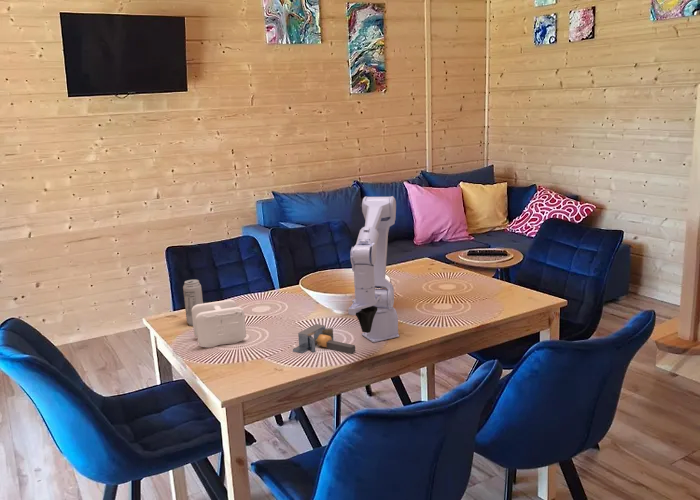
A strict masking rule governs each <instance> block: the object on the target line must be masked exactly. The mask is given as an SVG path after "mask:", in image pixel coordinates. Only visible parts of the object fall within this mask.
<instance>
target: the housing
mask: <svg viewBox="0 0 700 500" xmlns="http://www.w3.org/2000/svg"><path fill="white" fill-rule="evenodd" d="M297 334H298V346H296V347H294V348H292V352H294V353H300V354H303V353H305V352H307V351H310V352H311V353H316V339H317V338H318V336H319V335H320V334H323V335H328V336H331V338H332V341H335V339H334V328H333V327H332V328H331V327H329V328H328V327H326V325H324V324H320V323H314V324H313V325H311V326H309V327H307V328H305V329H304V330H301V331H299V332H298V333H297Z"/></svg>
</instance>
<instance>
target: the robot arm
mask: <svg viewBox="0 0 700 500" xmlns="http://www.w3.org/2000/svg"><path fill="white" fill-rule="evenodd" d="M361 212H362V214H363V215H362V216H363V217H364V220H365V223H364V226H362V227H361V229H359V233H358V236H357V239H356V243H355V245H354V246H351V249H350V263H351V269H352V272H353V279H354V280H353V281H354V282H353V283H354V284H353V285H354V299H352V300H351V302H352V304H351V306H349V307H347V309H348V310H347V311H348V314H347V315H349V316H356V318H357V320H358V322H359V325H360V329H361V332H362V333H361V335H362V337H364V338H366V339H367V340H369V341H370V342H372V343H377V342H382V341H387V340H390V339H394V338H395V339H396V338H399V337H400V335H399V317H398V313H397V310H396V308H395V307H394V303H395V294H394V291H395V289H394V288H395V287H394V285H393V283H391V281H389V280H388V279H387V278H386V276H387V275H386V273H387V271H386V270H387V257H388V241H389V238H388V236H389V232H390V231H389V230H390V227H392V226H393V225H395V221H396V218H397V217H396V215H397V214H396V213H397V201H396V198H395V197H394V195H392V196H364V197H363V198H362V203H361Z"/></svg>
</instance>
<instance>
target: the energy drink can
mask: <svg viewBox="0 0 700 500" xmlns="http://www.w3.org/2000/svg"><path fill="white" fill-rule="evenodd" d="M182 289H183V291H182V292H183V298H184V299H183V301H184V308H185V309H184V310H185V317H186V318H185V319H186V323H187V324H188V325H189V326H192V327H193V320H192V308H193V306H195V305H197V304H203V303H204V301H203V290H202V285H201V283H200V280H199V279H188V280H185V281H184V284H183V286H182Z"/></svg>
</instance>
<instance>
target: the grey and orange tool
mask: <svg viewBox="0 0 700 500" xmlns="http://www.w3.org/2000/svg"><path fill="white" fill-rule="evenodd" d="M315 342H316V343H317V346H318V347H323V348H326V349H328V350H332V351H337V352H341V353H345V354H350V355H353V354H354V353H356V344H351V343H345V342H341V341H336V340H334V341H332V338H331V336H328V335H323V334H320V335H319V336H318V338H317V339H316V340H315Z"/></svg>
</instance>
